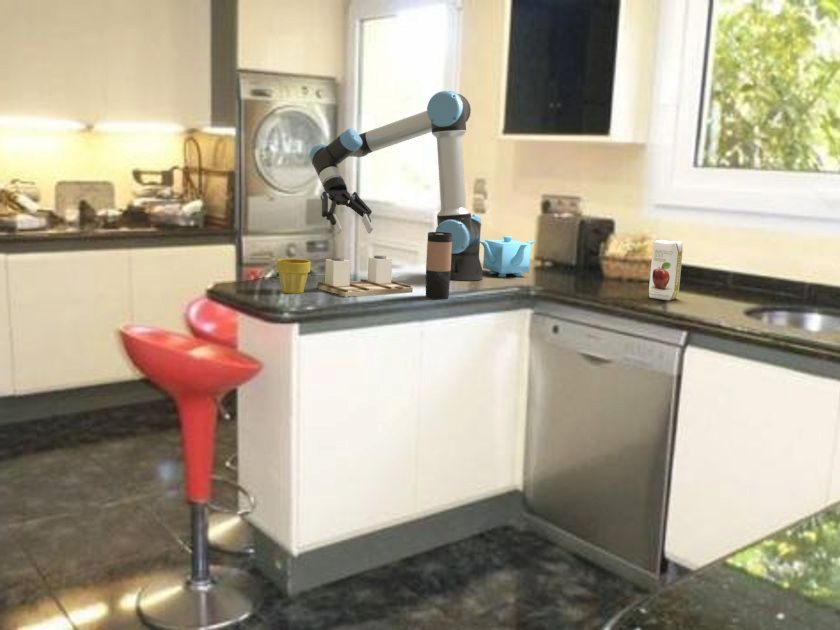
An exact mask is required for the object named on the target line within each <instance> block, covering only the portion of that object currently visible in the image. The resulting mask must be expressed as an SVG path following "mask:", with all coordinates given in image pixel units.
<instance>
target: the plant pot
mask: <svg viewBox="0 0 840 630" xmlns="http://www.w3.org/2000/svg"><path fill="white" fill-rule="evenodd" d="M276 271H277V272H278V276H279V281H280V286H281V292H283V293H285V294H303V293H304V292H305V288H306V283H307V279H308V275H309V273H310V272H311V260H309V259H302V258H279V259H277V260H276Z"/></svg>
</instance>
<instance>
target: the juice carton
mask: <svg viewBox="0 0 840 630" xmlns="http://www.w3.org/2000/svg"><path fill="white" fill-rule="evenodd" d="M683 249H684V247H683V242H682V241H670V240H666V239H665V240H664V239H659V240H658V239H657V240H655V241H654V244H653V247H652V253H651V254H652V255H651V263H650V264H651V265H650V275H649V276H650V277H649V287H648V294H649V298H651V299H657V300H663V301H672V300H676V299H677V297H678V295H679V291H680V282H681V271H682V264H683V263H682V261H683V252H684V250H683Z"/></svg>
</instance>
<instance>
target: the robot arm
mask: <svg viewBox="0 0 840 630" xmlns="http://www.w3.org/2000/svg"><path fill="white" fill-rule="evenodd" d="M471 111H472V108H471V104H470V103H469V101H468V99H467V97H465V96H463V95H462V94H460V93H457V92H455V91H453V90H452V91H451V90H442V91H438V92H436V93H435V94H433V95H432V97H431V98H430V99H429V101H428V103H427V107H426V110H424V111H421V112H419V113H416V114H414V115H410V116H408V117H405V118H402V119H400V120H397V121H393V122H391V123H388V124H387V123H386V124H385V125H383V126H379V127H377V128H373V129H371V130H368V131H366V132H362V133H360V134H359V133H358V132H357V131H356V130H354V129H353V128H348V129H346V130H345V131H342V132H341V133H340V135H338V136H337V137H336V138H335V139H334V140H332V141H331V142H330V143H329V144H328V145H327V144H324V143H323V144H318V145H317V146H316V145H315V146H314V147H312V148H311V149H310V152H309V159H310V161H311V164H312V165H313V166H312V167H313V169H314V170H315V173H316V174H317V176H318V179H319V181H320V182H321V183H320V184H321V186H322V187H323V190H324V191H322V193H321V195H320V199H321V217H322V218H325V219H326V220H327V221H329V222H330V224H331V226H333V228H334V230H335V231H336V234H337V235H340V234H341V232H342V230H343V227H342V226H341V223H340V221H339V217H338V216H337V214H336V213H334V212H335V208H336V206H346V207H347V208H350V209H351V210H353V211H354V212H355V213H357V214H358V215H359V216H360V217H361V221H362V223H363V225H364V228H365V229H366V231H367V234H371V232H372V231H373V230H374V227H373V224H372V220H371V218H370V216H371V214H372V212H373V210H372V209H371V208H370V207H369V206H368V205H367V204H366V202H364V201H363V200H362V198H360V196H359V194H358V193H357V192H356V191H354V192H353V193H350V192H349V191H348V187H347V184H346V182H345V180H344V178H343V176H342V174H341V171H340V170H339V168H338V166H339V164H341V163H342V162H344V161H345V160H346V159H347V158H350V157H354V158H355V157H356V158H362V157H366V156H368V155H369V154H371V153H374V152H376V151H379V150H382V149H385V148H388V147H391V146H394V145H396V144H400V143H403V142H406V141H409V140H412V139H415V138H418V137H420V136H423V135H426V134H429V133H431V134H432V136H433V137H435V138H436V146H437V147H436V148H437V149H436V150H437V165H438V179H439V199H440V210H439V212H438V213H437V214H436V217H437V218H436V219H437V220H436V221H437V227H436V229H435V231H434V232H446V233H452V250H451V273H450V280H452V281H453V280H454V281H469V282H470V281H479V280H483V279H484V278H483V277H484V272H483V266H482V264H481V259H480V248H481V247H480V246H481V245H480V244H481V243H480V241H481V231H482V230H481V229H482V218H481V216H480V215H477V214H472V213H471V211H470V210H469V209H468V208H467V201H466V185H465V184H466V183H465V181H466V180H465V167H464V166H465V165H464V150H463V136H464V135H465V134H466V132H467V122H468V121H469V119H470V118H471ZM329 201H331V204H330V208H329V204H328V203H329Z"/></svg>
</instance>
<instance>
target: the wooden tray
mask: <svg viewBox="0 0 840 630" xmlns="http://www.w3.org/2000/svg"><path fill="white" fill-rule="evenodd" d="M315 285H316V287H315V289H317V288H320V289H323V290H326V291H330V292H333V293H336V294H339V295H338V296H340V295H342V296H341V297H343V296H345V297H344V298H349V297H348V296H357V297H368V296H367V295H370V296H380V295H391V294H392V295H393V294H394V295H395V294H406V293H413V291H414V287H413V286H412V285H411V284H406V283H402V282H399V281H396V280H395V281H394V280H391V283H383V284H379V283H375V282H371V281H368V279H363V278H361V279H360V280H355V281H353V280H352V281H351V280H350V286H339V287H336V286H332V285H329V284H326V283H325V282H321V281H318V282H317V283H316V284H315ZM320 289H319V290H320ZM323 290H322V291H323ZM326 291H325V292H326ZM330 292H329V293H330ZM333 293H332V294H333ZM336 294H335V295H336Z"/></svg>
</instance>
